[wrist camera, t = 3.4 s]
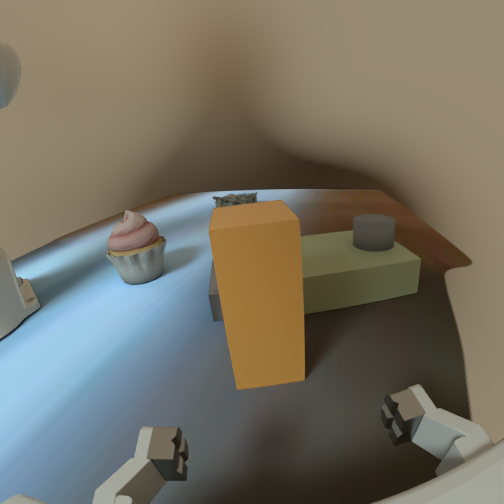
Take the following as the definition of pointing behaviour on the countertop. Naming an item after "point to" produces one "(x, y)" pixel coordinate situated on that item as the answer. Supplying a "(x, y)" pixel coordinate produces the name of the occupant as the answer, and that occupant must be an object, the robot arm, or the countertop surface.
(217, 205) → the rocky terrain model
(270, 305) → the tall orange pillar
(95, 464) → the countertop surface
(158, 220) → the countertop surface
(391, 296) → the green drawer box
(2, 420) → the countertop surface
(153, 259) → the cupcake
